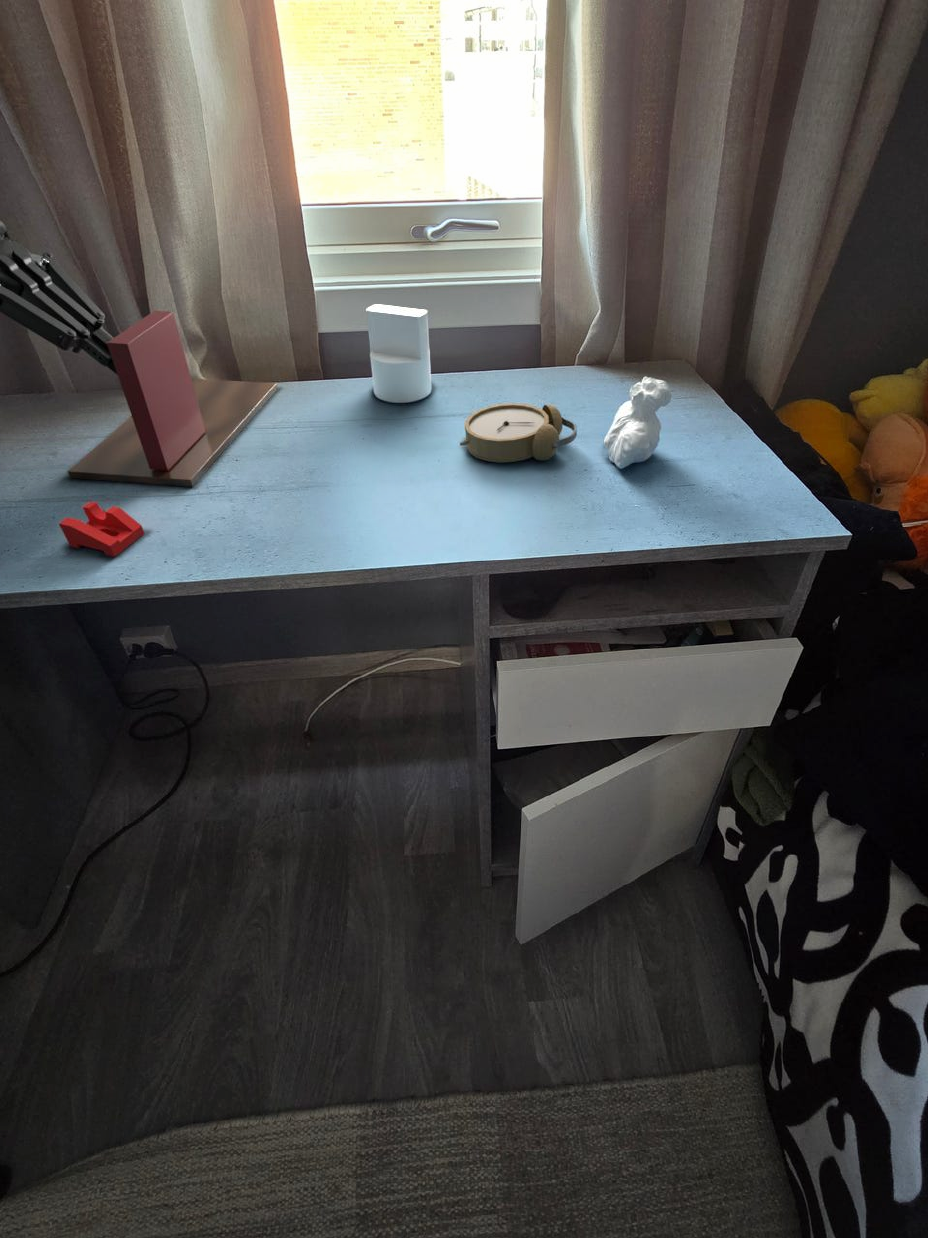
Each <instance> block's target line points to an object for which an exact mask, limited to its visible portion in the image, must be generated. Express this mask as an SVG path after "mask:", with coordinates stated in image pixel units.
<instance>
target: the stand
mask: <svg viewBox="0 0 928 1238" xmlns="http://www.w3.org/2000/svg"><path fill="white" fill-rule="evenodd" d="M195 379H196V380H195ZM199 379H200V380H199ZM191 380H192V383H193V387H194V391H195V395H196V398H197V402H198V406H199V409H200V413H201V417H202V420H203V424H204V428H205V432H204V433H203V435H202V436H201V437H200V438H199V439H198V440H197V441H196V442H195V443H194V444H193V445H192V446H191V447H190V448H189V449H188V450H187V451H186V452H185V453H184V454H183V456H182V457H181V458H180V459H179V460H178V461H177V462H176V463H175V464H174V465H173V466H172V467H171V468H170V469H169V470H168V471H165V470H154V469H150V468H149V465H148V462H147V459H146V456H145V453H144V450H143V447H142V444H141V441H140V439H139V436H138V433H137V430H136V427H135V424H134V421H133V418H132V415H131V416H130V417H129V418H128V419H126V420H125V421H124V422H123V423H122V424H121V425H119V426H118V427H116V429H115V430H114V431H113V432H111V433H110V434H109V435H108V436H106V437H105V438H104V439H103V440H102V441H100V442H99V443H98V444H97V445H96V446H95V447H94V448H92V449H91V450H90V451H89V452H88V453H87V454H86V455H84V456H83V457H82V458H81V459H79V461H77V462H76V463H75V464H74V465H73V466H71V468H69V469H68V470H67V474H68V477H69V478H70V479H78V480H79V479H80V480H81V479H82V480H94V481H106V482H121V483H122V482H123V483H137V484H147V485H148V484H150V485H163V486H178V487H191V488H193V487H195V485H196V484H197V482H198V481H199V480H200V479H201V478H202V477H203V476H204V475H205V474H206V472H208V470H209V469H210V468H211V466H212V465H213V464H215V462H216V461H217V460H218V459H219V457H220V456H221V455H222V454H223V453H224V452H225V450H227V448H228V447H229V446H230V445H231V444H232V442H233V441H234V440H235V439H236V438H237V437H238V436H239V434H240V433H241V432H242V431H243V430H244V429H245V428H246V426H248V424H249V423H250V422H251V420H252V419H253V418H254V417H255V416H256V415H257V414H258V412H259V411H260V410H261V409H262V408H263V407H264V405H266V403H267V402H268V401H269V400H270V399H271V397H273V395H274V394H275V393H276V392H277V390H278V384H277V382H264V381H243V380H242V381H241V380H223V379H205V378H203V379H202V378H191Z"/></svg>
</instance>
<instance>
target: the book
mask: <svg viewBox="0 0 928 1238" xmlns="http://www.w3.org/2000/svg"><path fill="white" fill-rule="evenodd" d="M107 345H108V348H109V351H110V354H111V357H112V359H113V362H114V365H115V368H116V371H117V374H118V375H117V374H116V375H117V377H118V381H119V382H120V386H121V389H122V391H123V394H124V397H125V400H126V403H127V406H128V409H129V412H130V415H131V416H132V418H133V421H134V424H135V427H136V430H137V433H138V436H139V439H140V441H141V444H142V447H143V450H144V453H145V456H146V459H147V462H148V465H149V468H150V469H154V470H165V471H168V470H169V469H170V468H171V467H172V466H173V465H174V464H175V463H176V462H177V461H178V460H179V459H180V458H181V457H182V456H183V454H184V453H185V452H186V451H187V450H188V449H189V448H190V447H191V446H192V445H193V444H194V443H195V442H196V441H197V440H198V439H199V438H200V437H201V436H202V435H203V433H204V432H205V428H204V424H203V420H202V417H201V413H200V409H199V406H198V402H197V398H196V395H195V391H194V387H193V383H192V380H191V379H192V376H191V373H190V369H189V365H188V362H187V358H186V354H185V350H184V347H183V342H182V340H181V335H180V333H179V328H178V324H177V321H176V317H175V314H174V311H168V310H167V311H165V310H153V311H152V312H151V313H149V314H147V315H146V316H145V317H143V318H142V319H140V320H138V321H137V322H136V323H134V324H133V325H131V326H129V327H128V328H126V329H125V330H124V331H122V332H121V333H119V334H118V335H116V336H114V338H113V339H112V340H110V341H109V342H107Z"/></svg>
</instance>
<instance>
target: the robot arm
mask: <svg viewBox="0 0 928 1238" xmlns="http://www.w3.org/2000/svg"><path fill="white" fill-rule="evenodd" d="M0 313H1V314H2V315H5V316H6V317H8V318H9V319H11V320H12V321H14V322H16V323H18V324H19V325H21V326H23V327H24V328H26V329H28V330H29V331H31V332H32V333H34V334H36V335H37V336H39V337H41V338H42V339H44V340H46V341H47V342H49V343H51V344H52V345H54V346H55V347H57V348H59V349H61V350H63V351H65V352H68V351H69V350H70V348H72V350H71V352H73V353H74V354H80V352H81V351H82V350H83V351H84V352H85V353H86V354H88V355H89V356H90V357H91V358H93V360H95V361H96V362H97V363H99V364H100V365H102V366H104V367H107V368H108V369H109V370H110V371H111V372H113V373H114V374H116V375H117V376H118V374H117V371H116V368H115V365H114V362H113V359H112V357H111V354H110V351H109V348H108V345H107V342H109V341H110V340H112V339H113V338H115V336H114V337H113V336H112V335H111V334H110V333H109V332H107V331H106V330H105V328H103V325H104V323H105V318H106V316H105V313H104V312H103V311H102V310H101V309H100V308H99V306H97V305H96V304H95V303H94V302H93V300H92V299H91V298H90V297H89V296H88V295H87V294H86V293H85V292H84V291H83V290H82V288H81V287H80V286H79V285H78V284H77V283H76V282H75V281H74V280H73V279H72V278H71V277H70V276H69V274H68V273H67V272H66V271H65V270H64V269H63V268H62V267H61V265H60V263H59V261H58V260H57V258H56V257H55V255H54V254H53V252H51V251H49V250H44V251H43V252H42V254H41V255H40V254H36V253H31V252H30V251H29V250H28V248H26V247H25V246H23V245H21V244H19V243H17V242H16V241H14V240H13V239H12V238H10V236H9V233H8V232H7V227H6V225H5V224H4V223H3V222H2V221H1V220H0Z"/></svg>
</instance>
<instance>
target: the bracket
mask: <svg viewBox="0 0 928 1238" xmlns="http://www.w3.org/2000/svg"><path fill="white" fill-rule="evenodd" d="M82 509H83V511H84V514H85V516H86V518H87V520H88V521H87V522H84V521H82V520H80V519H77V518H73V517H69V516H68V517H66V518H65V519H63V520H61V521H60V522H59V523H58V525H59V527H60V529H61V531H62V533H63V535H64V537H65V539H66V541H67V543H68V546H70V547H73V548H77V549H80V548H81V547H83V546H84V547H87V548H91V549H96V550H100V551H103V553H104V555H106V556H110V557H114V558H115V557H118V555H120V554H121V552H123V551H124V550H126V549H127V548H128V547H130V546H131V545H132V544H133V543H134V542H136V541H137V540H138V539H139V538H141V537H142V536H143V535H144V534H145V531H144V528H143V526H142V525H141V523H139V522H138V521H137V520H135V519H134V517H132V516H131V515H130V514H128V513H127V512H126V511H124V510H123V509H122V508H121V507H119V506H114V505H113V506H111V507H110V508H108V509H107V510H103V509H102V507H100V505H99V503H98V502H96V501H92V500H91V501H89V502H87V503H86V504H85V505H83V506H82Z"/></svg>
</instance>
